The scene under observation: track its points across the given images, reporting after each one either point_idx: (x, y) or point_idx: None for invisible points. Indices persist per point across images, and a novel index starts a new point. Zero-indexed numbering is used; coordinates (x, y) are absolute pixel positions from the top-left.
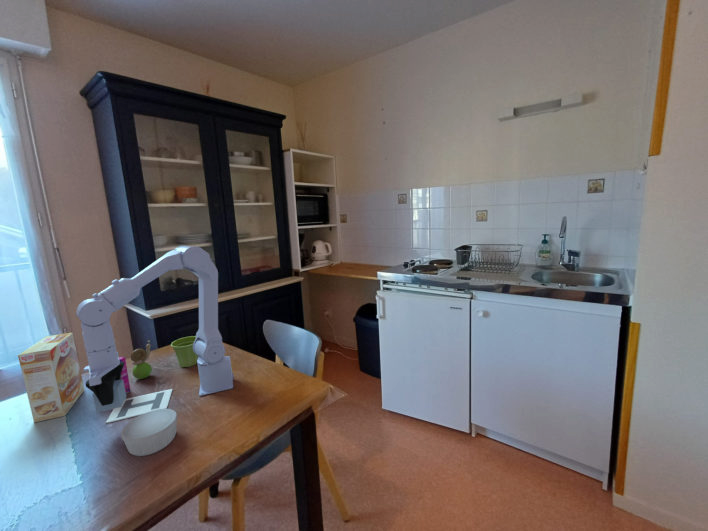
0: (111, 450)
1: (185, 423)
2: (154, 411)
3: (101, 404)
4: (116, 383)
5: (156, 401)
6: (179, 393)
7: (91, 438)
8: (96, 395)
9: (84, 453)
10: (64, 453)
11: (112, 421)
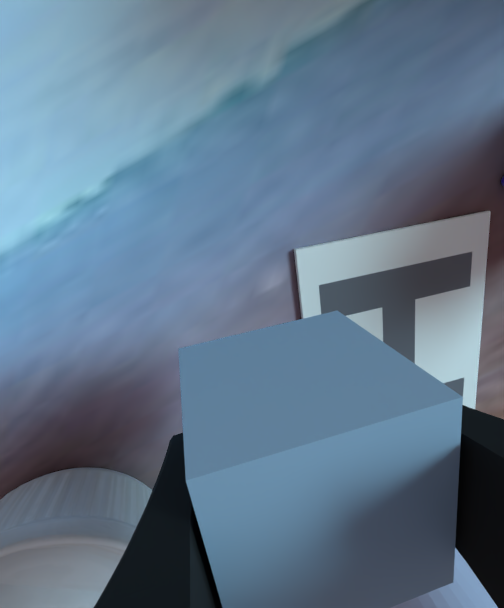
0: (50, 395)
1: None
2: None
3: (169, 444)
4: (373, 584)
5: None
6: None
7: (176, 240)
8: (124, 555)
9: (46, 275)
10: (64, 156)
11: (297, 277)
